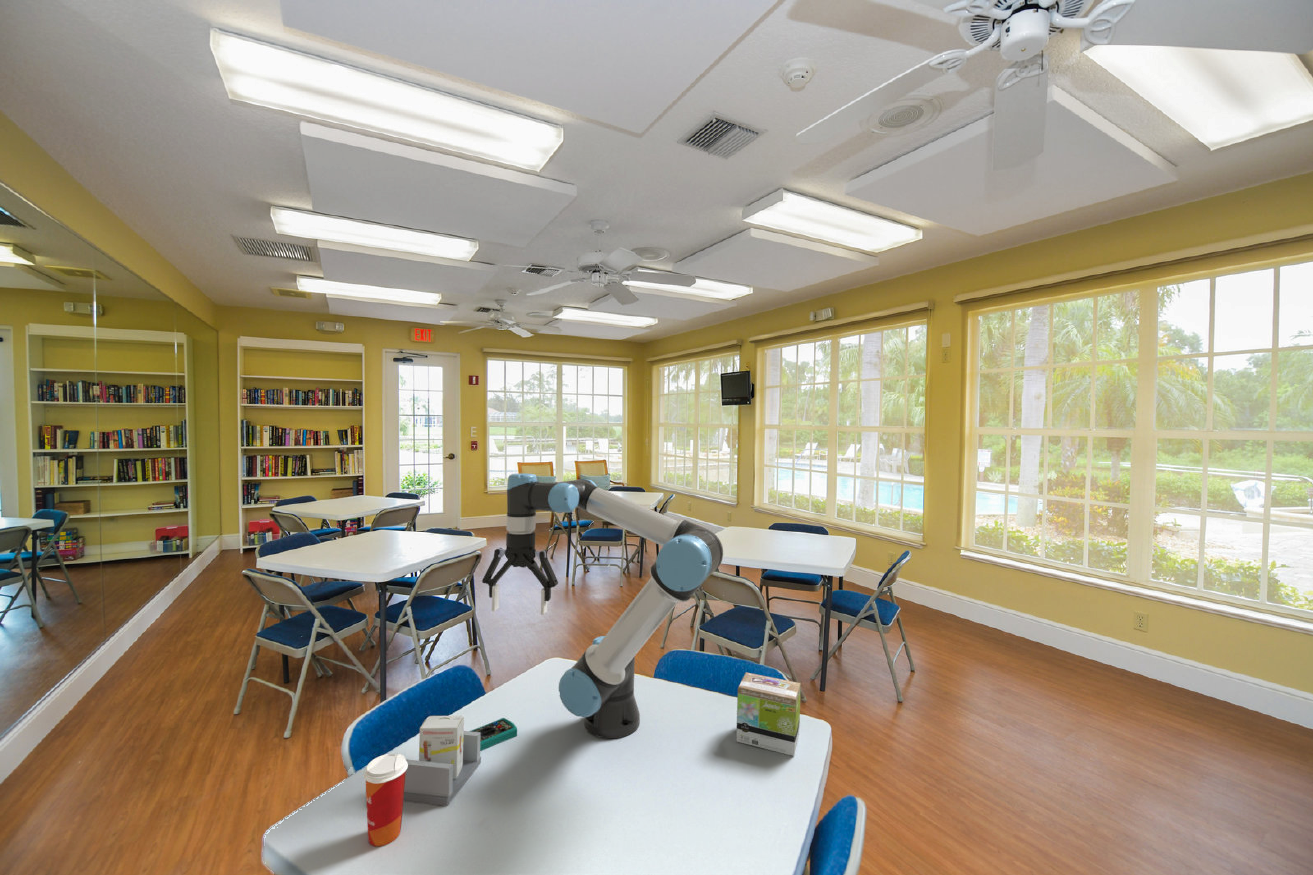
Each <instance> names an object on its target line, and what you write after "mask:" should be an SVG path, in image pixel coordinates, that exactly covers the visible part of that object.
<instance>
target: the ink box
mask: <svg viewBox="0 0 1313 875" xmlns="http://www.w3.org/2000/svg"><path fill="white" fill-rule="evenodd" d="M464 725H465V717H463V716H462V715H429V716H428V717H427V718H426V719H424V721H423V722H422V725H421V726H420V727H419V738H418V739H419V740H418V741H419V742H418V744H419V745H418V746H419V748H418V749H419V750H418V761H426V762H435V763H444V764H453V779H457V777H458V775H459V773H460V771H461V769H462V766H463V736H464V731H465V730H464V729H465V728H464Z"/></svg>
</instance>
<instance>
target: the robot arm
mask: <svg viewBox="0 0 1313 875" xmlns="http://www.w3.org/2000/svg"><path fill="white" fill-rule="evenodd" d="M537 479H538V478H537V475H536V474H534V473H525V472H524V473H512V474H509V476H508V478H507V486H506V487H507V489H506V501H507V502H506V505H507V506H506V507H507V508H506V509H507V511H506V529H505V530H506V531H507V533H506V539H505V542H506V543H505V544H506V546H505V547H506V548H505V549H503V548H502V547H499V548H496V549H495V550H494V554H493V558H492V560H491V562H490V564H489V565H488V566H489V567H488V568H487V570H486V572H485V574H484V576H483V578H482V581H481V582H482V583H483V584H486V585H488V597H489V598H490V599H491V612H496V611H497V610H498V609H499V608H500V584H499V583H498V582H499V580H500V579H501V578H502V577H503V576H504V575H505V573H506V572H507V571H508V570H509V569H510V568H511V567H513V568H518V567H520V568H527V569H528V570H530V571H531V573H532V574H533V576H535V578H536V579H537V581H538V582H539V583H540V584H541V586H542V587H543V588H542V589H541V591H540V593H541V594H540V615H545V614H546V613H548V602H549V601H550V600H551V598H552V588H555V587H556V586H557V585H559V581H558V578H557V577H556V574H555V572H554V570H553V567H552V565H551V563H550V561H549V559H548V552H547V551H548V550H547V549H543V550H539V551H538V550H536V532H535V530H536V525H537V524H536V521H537V520H536V518H537V514H536V513H537V511H539V512H540V511H541V512H552V513H558V514H562V513H567V514H568V513H569V514H570V513H572V512H574V511H575V509H576V508H578V509H580V510H583V511H585V512H586V513H589V514H591V515H592V516H593V515H594V517H598V518H601V519H602V520H605V521H606V522H609V523H611V524H613V525H615V526H618V527H620V528H622V529H624V530H626V531H629V532H630V533H633V534H635V535H637V536H639V537H641V538H644V539H646V540H649V541H651V542H653V543H655V544H657V545H659V546H662V547H661V548H660V550H659V551H658V554H657V557H656V560H655V561H654V563H653V564H652V565H651V567H650V568H649V575H650V579H649V580H648V581H647V582H646V584H644V586H643V587H642V589H641V590H640V591H639V592H638V594H637V595H636V596H635V597H634V598H633V600H632V601H631V602H630V603H629V605H628V607H626V609H625V610H624V612H622V614H621V615H620V616H619V618H618V619H617V620H616V622H615V623H614V624H613V625H612V627H611V628H610V629H609V630H608V631H607V633H606V635H603V636H602V635H601V636H597V637H595V638H594V639H593V641H592V644H591V645H590V646H588V647H587V649H586V650H585V651H584V652H583V654H582V655H581V656H580V657H579V659H578V660H577V661H576V663H575V664H574V665H573V666H572V667H571V668H569V669H567V670H566V671H565V672H564V673H563V674H562V676H561V677H560V679H559V682H558V693H559V699H560V700H561V703H562V705H563V706H564V708H565V709H566V710H567V711H568V712H570V713H571V714H573V715H574V716H576V717H580V718H584V728H585V730H586V731H587V732H588V733H590V734H591V735H593V736H595V737H599V738H604V739H618V738H619V739H620V738H622V737H626V736H629V735H631V734H633V733H634V732H635V731H637V730H638V728H639V727H640V721H641V719H640V718H641V715H640V714H641V713H640V710H639V707H638V704H637V701H636V696H635V692H634V691H635V664H636V663H635V661H636V658H635V656H636V655H637V654H638V653H639V651H640V650H641V649H642V648H643V646H644V645H645V644H646V643H647V642H648V640H649V639H650V638H651V637H652V635H653V634H654V633H655V632H656V630H657V629H658V628H659V627H660V626H661V625H662V623H663V622H664V621H665V620H666V618H667V617H668V616H669V614H670V613H671V612H672V611H673V609H674V608H675V607H676V606H677V605H678V603H681V602H682V603H685V602H688V601H690V599H691V598H692V597H693V596H694V594H695V593H696V592H697V591H698V590H699V588H700V587H701V586H702V584H703V583H704V582H705V581H706V580H707V578H708V577H710V576H711V575H712V574H714V573H715V572H716V571H717V570H718V568H720V566H721V564H722V562H723V556H724V548H723V544H722V542H721V540H720V538H719V537H718V535H716V534H715V533H714V532H713V531H712V530H710V529H708V528H706V527H703V526H700V525H698V524H696V523H693V522H690V521H688V520H686V519H681V520H676V519H673V518H672V517H669V516H667V515H664V514H662V513H659V512H657V511H655V510H653V509H650V508H648V507H646V506H643V505H641V504H639V503H636V502H634V501H632V500H628V499H627V498H624V497H622V496H619V495H617V494H615V493H612V492H610V491H608V490H606V489H603V488H601V487H599V486H597V484H596V483H595V482H594V481H593V480H590V479H586V478H579V479H575V480H573V479H572V480H567V481H566V480H565V481H559V482H558V481H557V482H547V481H546V482H544V481H543V482H542V481H538V480H537ZM504 556H505V557H506V559H507V560H506V561H505V563H504V564H503V565H502V566H501V568H500V569H499V570H498V571H497V572H496V574H495V575H494V573H495V571H496V569H497V567H498V565H499V563H500V561H501V560H502V557H504ZM536 557H537V559H538V560H539V562H540V565H541V567H542V569H543V571H542V569H541V568H540V567H539V565H538V563H537V561H536V560H535V558H536ZM493 575H494V576H493ZM492 576H493V577H492Z"/></svg>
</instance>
